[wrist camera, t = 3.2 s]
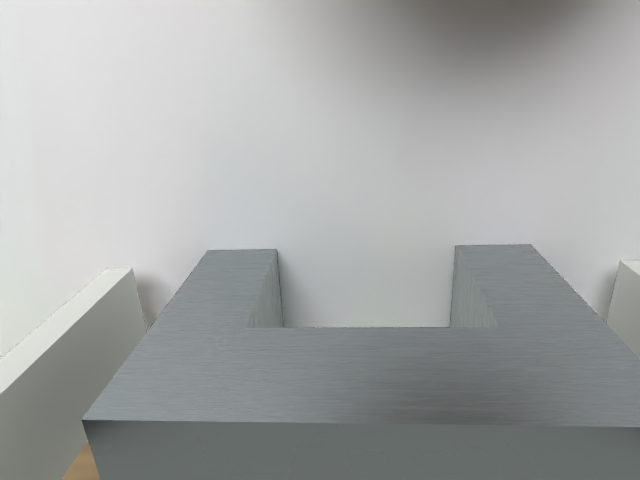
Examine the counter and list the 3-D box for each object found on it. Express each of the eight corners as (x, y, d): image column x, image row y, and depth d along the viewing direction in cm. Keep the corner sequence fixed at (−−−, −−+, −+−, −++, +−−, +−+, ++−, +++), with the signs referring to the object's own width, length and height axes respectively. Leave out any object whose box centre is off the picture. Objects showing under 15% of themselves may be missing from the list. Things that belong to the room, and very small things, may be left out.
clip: (207, 250, 13) (81, 419, 7) (530, 244, 12) (705, 427, 6) (221, 338, 14) (123, 549, 8) (518, 337, 13) (654, 569, 7)
